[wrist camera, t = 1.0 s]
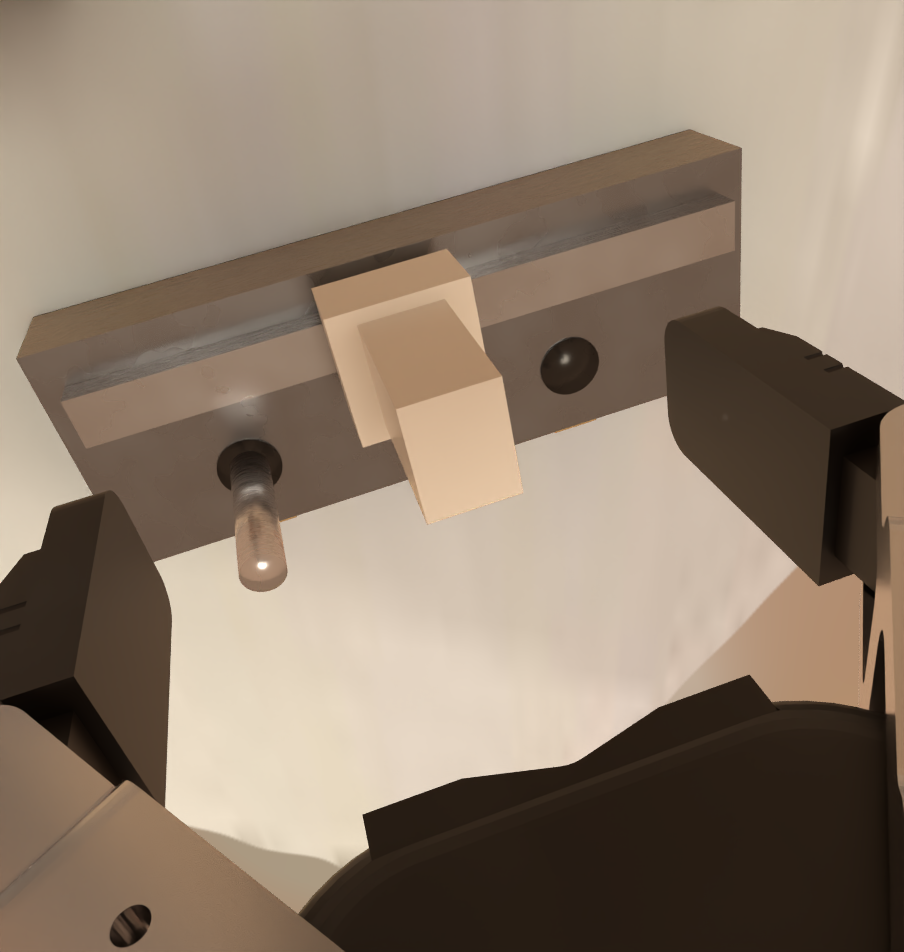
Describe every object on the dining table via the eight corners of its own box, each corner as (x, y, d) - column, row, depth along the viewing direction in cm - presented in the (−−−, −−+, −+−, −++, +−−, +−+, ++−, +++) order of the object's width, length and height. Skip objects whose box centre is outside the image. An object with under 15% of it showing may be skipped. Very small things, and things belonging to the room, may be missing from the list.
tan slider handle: (307, 279, 29) (354, 404, 21) (439, 240, 30) (534, 348, 22) (367, 468, 34) (423, 630, 26) (479, 432, 35) (569, 579, 27)
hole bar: (33, 317, 32) (-26, 460, 23) (689, 129, 35) (863, 191, 26) (140, 518, 38) (127, 694, 29) (695, 342, 41) (838, 451, 32)
